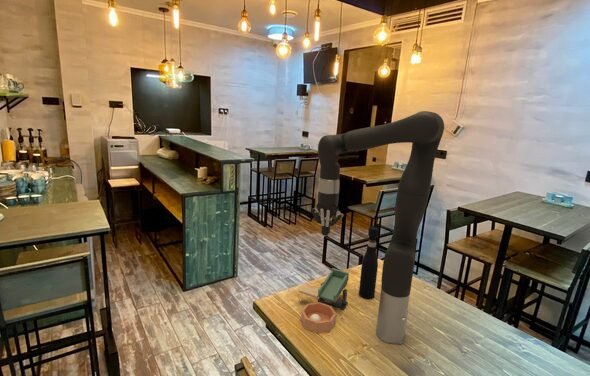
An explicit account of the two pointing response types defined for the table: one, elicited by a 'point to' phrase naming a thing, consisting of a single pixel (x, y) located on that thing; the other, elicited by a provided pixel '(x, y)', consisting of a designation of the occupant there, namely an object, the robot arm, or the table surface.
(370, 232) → the wine bottle
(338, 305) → the chute stand
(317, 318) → the ball
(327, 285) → the chute
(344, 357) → the table surface
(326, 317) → the pink octagonal bowl
